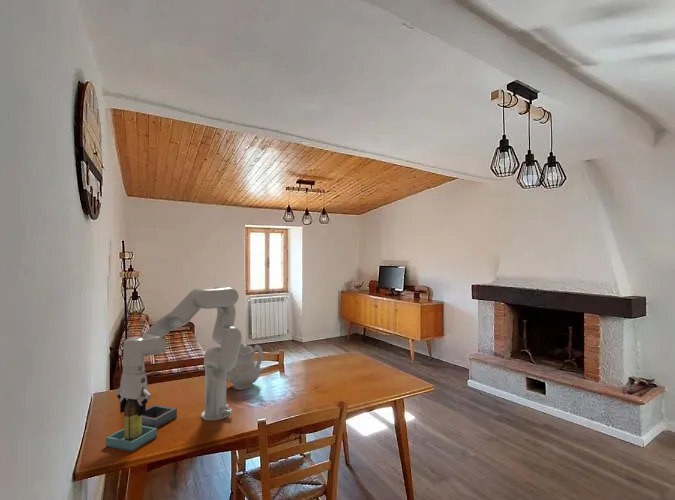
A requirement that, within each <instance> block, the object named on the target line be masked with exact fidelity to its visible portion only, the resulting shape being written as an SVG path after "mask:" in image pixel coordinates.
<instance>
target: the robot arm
mask: <svg viewBox="0 0 675 500" xmlns="http://www.w3.org/2000/svg"><path fill="white" fill-rule="evenodd" d="M238 301H239V293H238V291H237V290H236V289H235V288H232V287H228V286H220V285H219V286H214V287H213V288H212V289H205V288H194V289H192V290H191V291H190V292H189V293H188V294H187V295H186V296H185V297H183V299H182V300H180V302H179V303H177V305H176V306H175V307H174V308H173V309H172V310H171V311H169V313H167V314H165V315H164V316H162V317H161V318H159V319H158V320H157V321H155V322H154V323H153V324H152V325H151V326H150V327H149V328H148V329H147V330H146V331H144V333H143V334H142V336H141V337H138V336H137V337H129V338H126V339H125V340H124V341H123V349H122V350H123V352H122V353H123V355H122V357H123V358H122V374H121V377H120V385H119V387H118V388H117V389H115V394H116V396H117V399H118V402H119V403H120V405H119V406H120V407H119V413H120V414H122V413H123V414H124V408H125V405H126V403H127V398H129V399H134V400H137V401H138V403H139V406H138V416H141V415H143V414H145V412H146V409H147V407H146V406H147V404H148V402H149V400H150V398H151V397H152V394H151V393H150V392H149V389H148V386H149V385H148V377H147V373H146V371H145V370H146V368H145V356H157V355H161V354H162V353H164V352H165V351H166V350H167V347H168V343H167V340H166V339H165V338H164V337H165V336H166V335H167V334H168V333H169V332H171V331H174V330H175V329H178V328H180V327H183V326H185V325H188V323H189V322H190V321H191V320H192V319H193V318H194V316H196V314H198V313H199V311H200V310H201V309H203V310H211V309H216V310H217V311H216V312H217V314H216V319H215V323H214V327H213V331H212V334H211V335H212V336H211V337H212V340H213V342H215V344H218V345H220V346H212V347H210V348H209V349H207V350H206V351H205V352H204V355H203V366H204V370H205V371H204V372H205V376H204V377H205V383H204V387H205V389H204V411H202V412H201V415H200V416H201V417H200V418H201V419H202V420H204V421H209V422H210V421H212V422H214V421H215V422H216V421H220V420H223V419H225V418H228V417H229V416H231V415H233V411H234V409H233V408H229V404H227V384H228V383H227V382H228V381H227V380H228V379H227V374H226V372H229V371H231V370H232V369H233V368H234V366H235V364H236V361H237V358H238V354H239V349H240V345H241V343H242V339H243V337H242V332H241V331H240V329H239V328H238V327H236V326H235V320H236V305H235V304H237V302H238Z"/></svg>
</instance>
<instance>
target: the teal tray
mask: <svg viewBox="0 0 675 500" xmlns="http://www.w3.org/2000/svg"><path fill="white" fill-rule="evenodd" d="M157 437H158V428H152V427H147V426H142V436H140V437H139V438H137V439H135V440H133V441H128V440H125V437H124V428H122V429H120V430H118V431H116V432H115V433H113V434H110V435H109V436H106V438H105V447H107V448H111V449H115V450H121V451H124V452H131V453H133V452H134V451H135V450H138V449H139V448H141V447H143V446H144V445H146V444H148V443H149V442H151V441H153V440H154V439H156V438H157ZM147 442H148V443H147Z"/></svg>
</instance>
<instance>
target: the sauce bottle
mask: <svg viewBox="0 0 675 500" xmlns="http://www.w3.org/2000/svg"><path fill="white" fill-rule="evenodd" d="M138 406H139V403H138V401H137V400H134V399H129V398H127V403H126V405H125V408H124V412H123V429H124V437H125V440H128V441H133V440H135V439H137V438H139V437H140V436H142V415H141V416H138Z"/></svg>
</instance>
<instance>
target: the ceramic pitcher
mask: <svg viewBox="0 0 675 500" xmlns="http://www.w3.org/2000/svg"><path fill="white" fill-rule="evenodd" d="M256 352H258V354H259V357H258V359H257V361H255V353H256ZM263 355H264V353H263V348H262V346H261V344H254V347H252V346H251V345H244V344H243V343H242V342H241V345H240V349H239V354H238V358H237V361H236V364H235V366H234V368H233V369H232V370H231V371H229V372H226V374H227V380H228V382H229V383H231V384H232V385H233V386H232V388H233V389H235V390H237V391H242V390H244V391H245V390H249V389H250V390H251V389H252V388H255V385H254V383H256V382H257V380H258V379H259V377H260V375H261V365H262V361H263V359H264V356H263Z"/></svg>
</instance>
